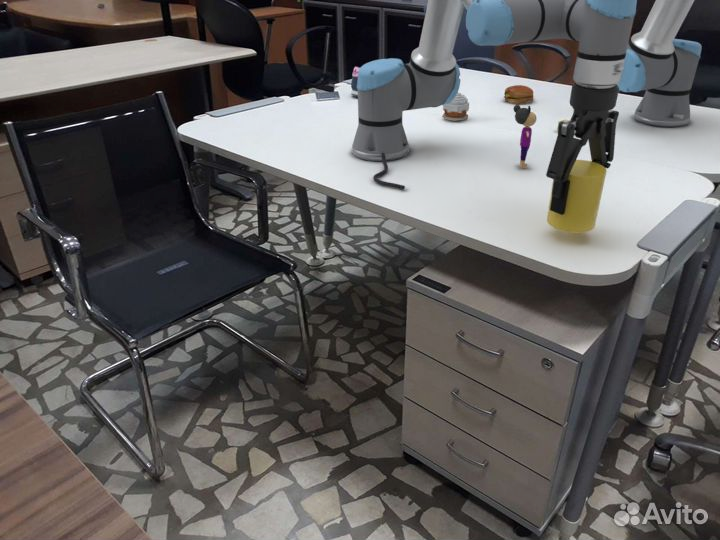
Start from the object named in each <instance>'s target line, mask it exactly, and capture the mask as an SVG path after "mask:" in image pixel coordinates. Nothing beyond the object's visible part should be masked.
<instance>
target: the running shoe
mask: <svg viewBox="0 0 720 540" xmlns="http://www.w3.org/2000/svg"><path fill="white" fill-rule="evenodd" d="M360 68H361V67H359V66H354V67H353V71H352V77H351V82H350V86H351V96H353V97H357V98H358V89H357V81H358V71H359V69H360Z"/></svg>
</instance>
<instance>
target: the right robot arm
mask: <svg viewBox="0 0 720 540" xmlns="http://www.w3.org/2000/svg"><path fill="white" fill-rule="evenodd" d="M694 2H695V0H655V1H654V3H653V6H652V7H651V10H650V11H649V14H648V16H647V18H646V20H645V22H644V24H643V26H642V28H641V30H640V31H639V32H636V33H634V34H633V35H632V36H631V37H630V39H629V42H628V46H627V51H626V57H625V60H624V65H623V68H624V70H623V72H622V75H621V81H620V82H619V83H618V84H616V85H618V87H619V91H620V92H623V93H638V92H641V91H645V90H646V91H645V93H644V95H643V97H642V98H641V100H640V102H639V104H638V105H637V107H636V108H635V111H634V114H633V119H634V120H635V121H637V122H639V123H642V124H645V125H648V126H649V125H650V126H654V127H662V128H663V127H664V128H675V127H684V126H687V125H689V123H690V121H691V120H690V119H691V106H690V104H691V103H690V94H691V90H692V86H693V83H694V80H695V76H696V72H697V68H698V66H699V61H700V59H701V53H702V50H703V49H702V47H703V46H702V44H701V43H700V42H698V41H692V40H688V39H687V40H686V39H681V38H680V39H679V38H676V37H677V34H678V32H679V31H680V28H681V27H682V25H683V23H684V21H685V19H686V18H687V15H688V13H689V12H690V10H691V8H692V6H693V4H694Z"/></svg>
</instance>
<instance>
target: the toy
mask: <svg viewBox="0 0 720 540" xmlns="http://www.w3.org/2000/svg"><path fill="white" fill-rule="evenodd" d="M512 110H513V113H514V119H515V121H516V123H517V124H519V125H522V126H523V128H522V129H521V133H520V139H519V140H520V141H519V146H520V156H519V158H520V160H519V167H520V169H528V163H526V160H527V155H528V151H529V149H530V147H531V142H532V134H533V130H532V126H534V125H535V124H536V123H537V115H536V113H534V112H532V108H531V105H528V106H527V107H521V106H520V104H516V105H515V104H514V106H513V109H512Z"/></svg>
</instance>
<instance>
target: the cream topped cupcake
mask: <svg viewBox="0 0 720 540" xmlns="http://www.w3.org/2000/svg"><path fill="white" fill-rule="evenodd" d="M469 109H470V102H469V99H468V98H467V96H465V94H462V93H461V92H458V93H457V95H456V97H455V98H454V99H453V100H452V101H451V102H450V103H448V104H446V105H442V110H443V111H444V113H443V114H442V118H443V119H445V120H449V121H456V122H458V121H463V120H466V119H469V114H468V112H469Z"/></svg>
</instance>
